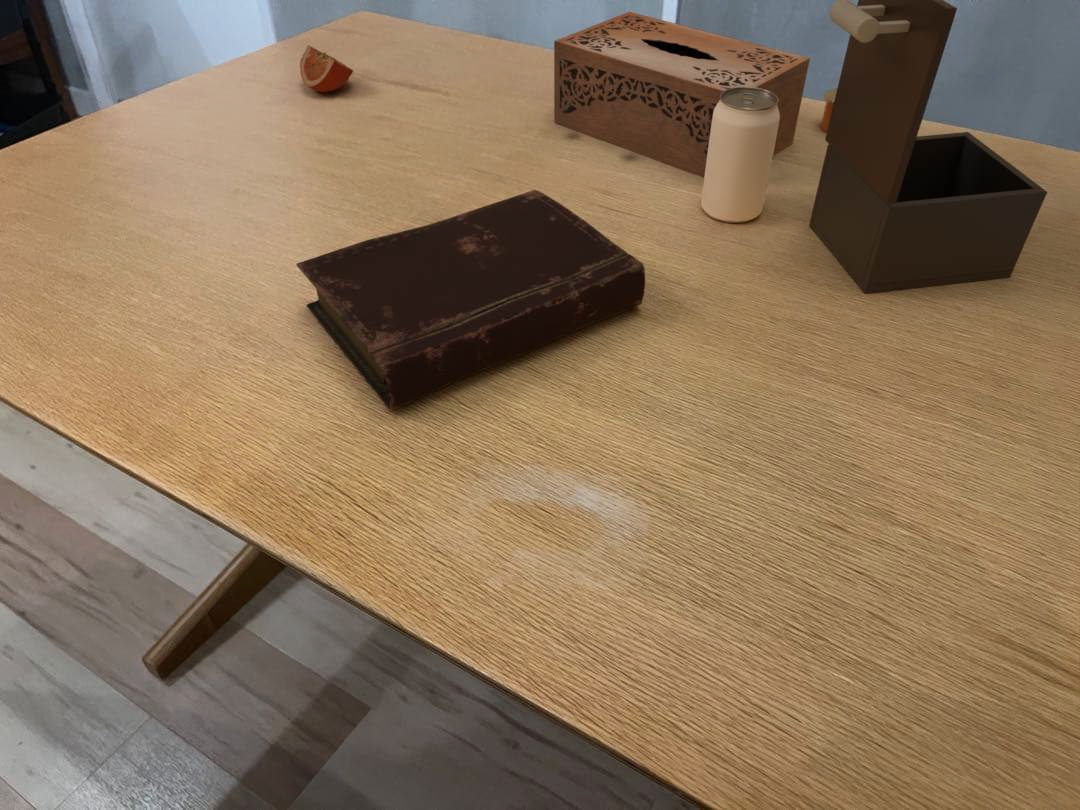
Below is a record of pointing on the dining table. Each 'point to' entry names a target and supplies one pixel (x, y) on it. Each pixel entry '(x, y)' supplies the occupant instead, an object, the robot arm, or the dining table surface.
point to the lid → (886, 83)
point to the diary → (468, 292)
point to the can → (740, 154)
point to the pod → (828, 108)
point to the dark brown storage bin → (928, 217)
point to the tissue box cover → (665, 85)
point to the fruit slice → (322, 71)
